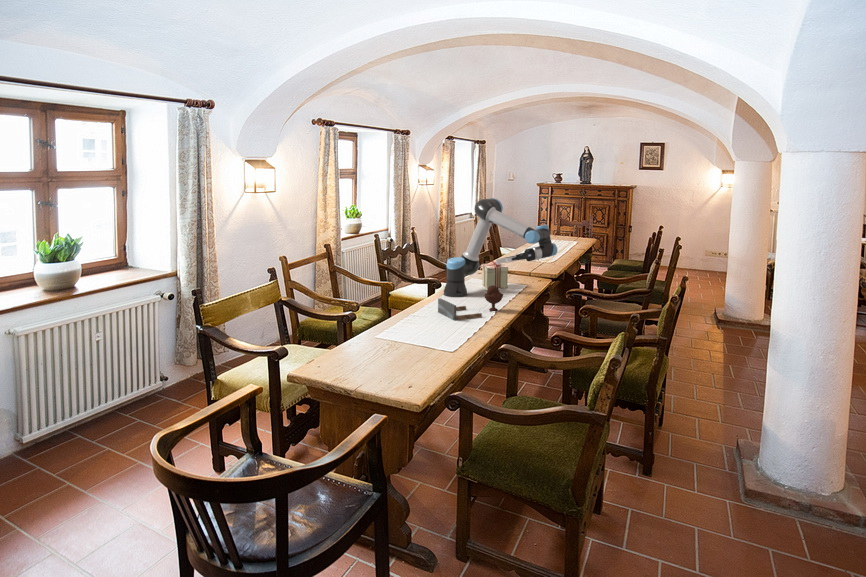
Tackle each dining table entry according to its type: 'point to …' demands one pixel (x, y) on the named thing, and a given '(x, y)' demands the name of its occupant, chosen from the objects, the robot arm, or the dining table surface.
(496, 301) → the ice cream bowl
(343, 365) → the dining table surface
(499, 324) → the dining table surface
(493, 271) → the gift box
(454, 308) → the frame
